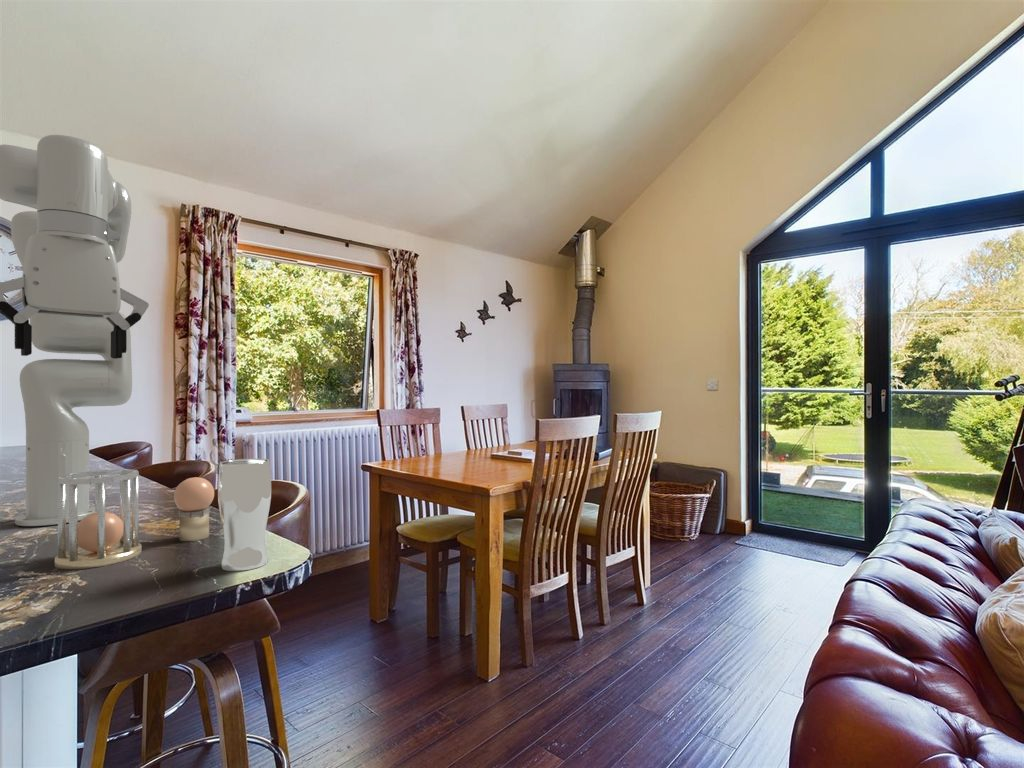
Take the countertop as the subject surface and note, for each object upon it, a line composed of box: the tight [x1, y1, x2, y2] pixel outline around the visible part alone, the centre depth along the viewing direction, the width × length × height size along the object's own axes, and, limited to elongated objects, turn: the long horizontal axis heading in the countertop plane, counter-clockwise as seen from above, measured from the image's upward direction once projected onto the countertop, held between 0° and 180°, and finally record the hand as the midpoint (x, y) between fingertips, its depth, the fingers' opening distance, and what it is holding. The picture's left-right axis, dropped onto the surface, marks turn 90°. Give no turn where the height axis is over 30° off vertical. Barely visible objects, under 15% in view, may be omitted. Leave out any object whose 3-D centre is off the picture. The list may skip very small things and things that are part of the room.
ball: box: [78, 510, 123, 552], centre depth 81 cm, size 6×6×6 cm
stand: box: [178, 506, 211, 542], centre depth 91 cm, size 4×4×5 cm
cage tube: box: [54, 468, 142, 570], centre depth 81 cm, size 10×10×13 cm
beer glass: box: [217, 458, 272, 572], centre depth 77 cm, size 7×7×15 cm
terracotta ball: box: [173, 476, 215, 512], centre depth 91 cm, size 6×6×6 cm
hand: (73, 356), depth 73 cm, fingers open, 9 cm apart
